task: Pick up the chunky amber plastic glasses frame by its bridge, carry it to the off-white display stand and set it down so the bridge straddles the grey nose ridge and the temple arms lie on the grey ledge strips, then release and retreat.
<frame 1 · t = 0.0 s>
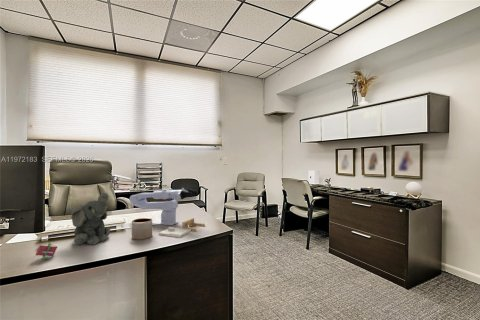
hand: (194, 193, 153), 22 cm above the table, tool horizontal, fingers open, 7 cm apart
stuffed elephant: (91, 240, 127), on the table
geometric puzzle: (46, 258, 104), on the table
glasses: (188, 227, 151), on the table
planter: (142, 237, 133), on the table
stand: (175, 232, 139), on the table
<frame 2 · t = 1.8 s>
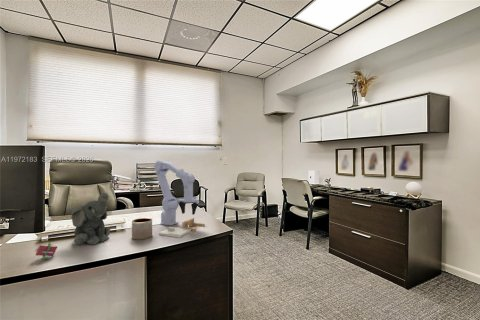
hand: (188, 213, 151), 9 cm above the table, tool pointing down, fingers open, 7 cm apart
nothing on the table moved.
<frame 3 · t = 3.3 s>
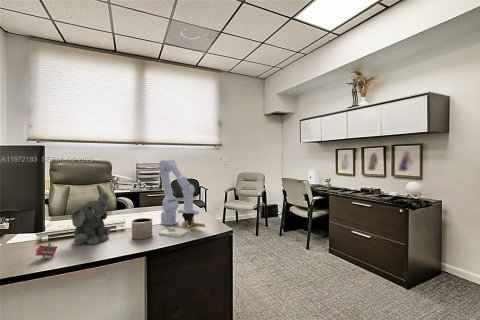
hand: (188, 224, 151), 2 cm above the table, tool pointing down, fingers closed on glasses, 2 cm apart
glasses: (188, 227, 151), on the table, touching gripper
everything else where it was.
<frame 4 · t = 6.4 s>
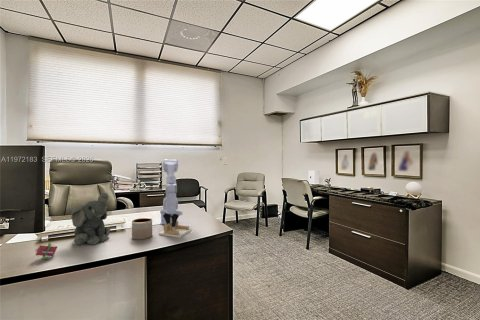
hand: (171, 226, 140), 4 cm above the table, tool pointing down, fingers open, 3 cm apart
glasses: (171, 230, 141), point 1 cm above the table, touching stand
everything else where it was.
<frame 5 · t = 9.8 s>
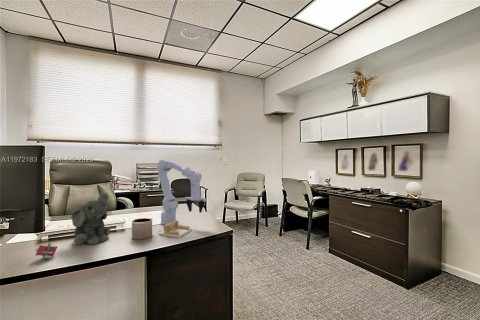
hand: (195, 211, 152), 10 cm above the table, tool pointing down, fingers open, 7 cm apart
nothing on the table moved.
at the end: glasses 0.2 cm from the target spot on the stand, point 1.2 cm above the stand's base; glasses tilted 2°; the gripper is holding nothing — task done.
